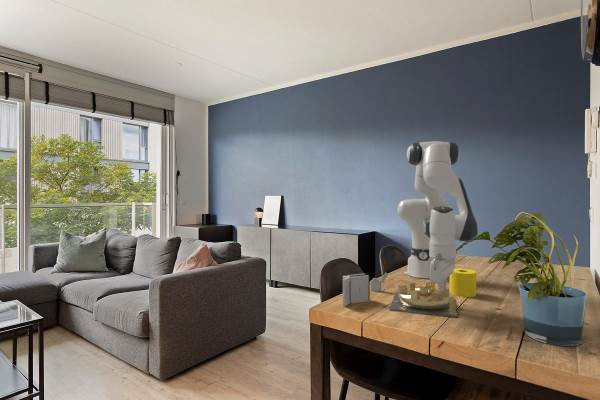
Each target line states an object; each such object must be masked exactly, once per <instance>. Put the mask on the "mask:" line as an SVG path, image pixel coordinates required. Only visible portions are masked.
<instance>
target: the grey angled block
mask: <svg viewBox="0 0 600 400" xmlns="http://www.w3.org/2000/svg"><path fill="white" fill-rule="evenodd" d="M388 275H389V274H388V273H387V272H384V274H383V276H382V278H381V279H380V280H379V278H377V277H373V278H372V279H370V291H371V292H382V284H384V283H385V281H386V279H387V277H388Z"/></svg>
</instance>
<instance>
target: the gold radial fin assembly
mask: <svg viewBox="0 0 600 400" xmlns="http://www.w3.org/2000/svg"><path fill="white" fill-rule="evenodd" d="M435 284H436V283H431V282H430V281H428V282H426V283H425V286H423V285H419V286H416V282H414V281H412V280H409V281H405V285H404V284H403V285H401V284H399V285H397V292H398V301H399V302H400V303H401V304H403V305H406V306H409V307H413V308H418V309H427V310H436V309H444V308H447V307H448V306H449V297H450V287H448V286H446V289H445V290H444V291H443V292H442V291H439V289H436V285H435Z"/></svg>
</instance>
